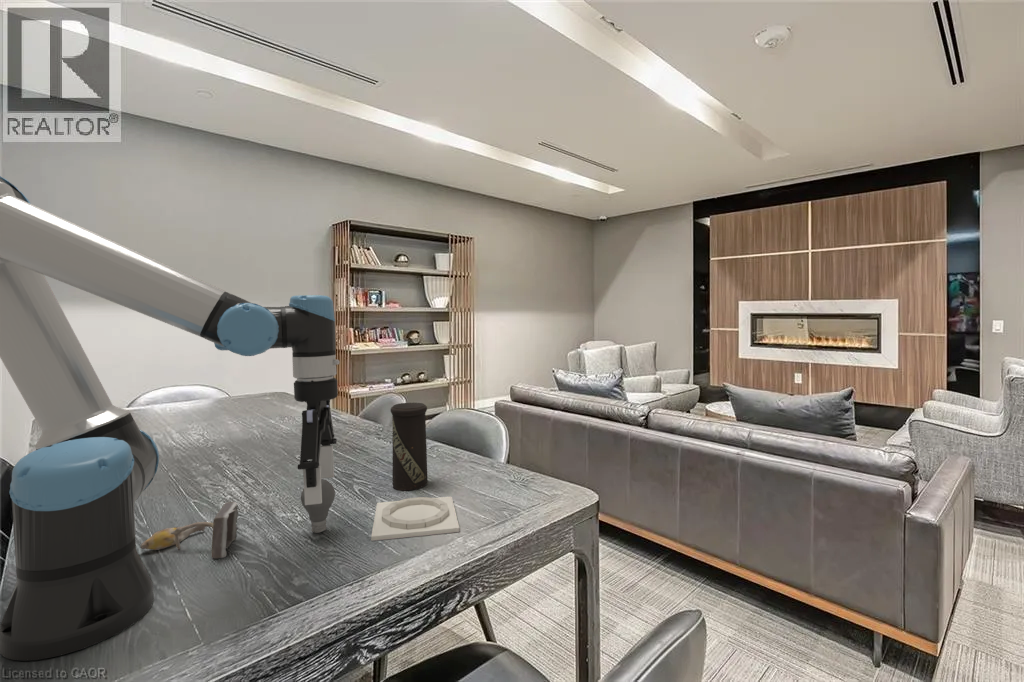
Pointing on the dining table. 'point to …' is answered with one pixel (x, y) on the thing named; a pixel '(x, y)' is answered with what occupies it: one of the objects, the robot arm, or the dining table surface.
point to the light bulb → (320, 507)
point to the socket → (414, 518)
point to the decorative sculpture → (221, 526)
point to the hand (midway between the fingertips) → (320, 489)
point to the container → (409, 446)
